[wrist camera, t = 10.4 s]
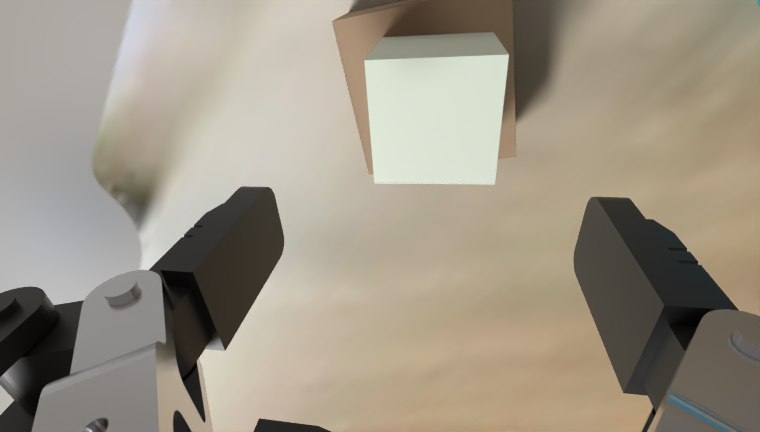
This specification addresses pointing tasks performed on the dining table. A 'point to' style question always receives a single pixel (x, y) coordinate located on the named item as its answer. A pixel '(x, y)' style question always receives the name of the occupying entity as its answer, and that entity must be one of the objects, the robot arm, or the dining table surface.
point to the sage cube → (436, 107)
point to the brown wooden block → (423, 17)
